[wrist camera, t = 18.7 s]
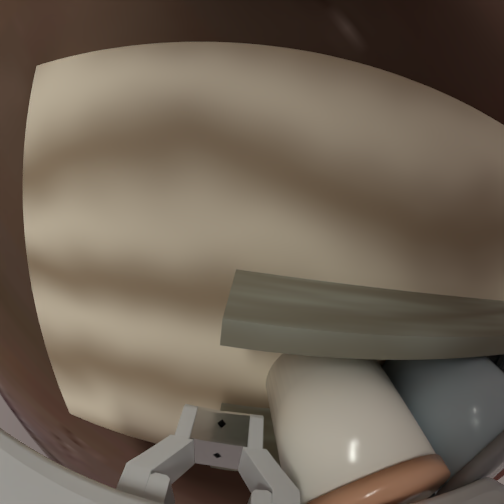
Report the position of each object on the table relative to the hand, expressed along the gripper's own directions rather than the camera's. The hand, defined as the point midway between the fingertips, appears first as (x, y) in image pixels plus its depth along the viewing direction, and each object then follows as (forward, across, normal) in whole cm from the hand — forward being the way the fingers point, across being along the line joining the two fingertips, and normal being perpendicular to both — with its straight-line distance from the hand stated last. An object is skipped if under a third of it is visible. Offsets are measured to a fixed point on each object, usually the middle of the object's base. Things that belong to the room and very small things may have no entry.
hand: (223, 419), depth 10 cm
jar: (+4, -4, 0) cm, 6 cm away
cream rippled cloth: (+5, -7, -2) cm, 9 cm away
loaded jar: (+4, -10, 0) cm, 11 cm away
